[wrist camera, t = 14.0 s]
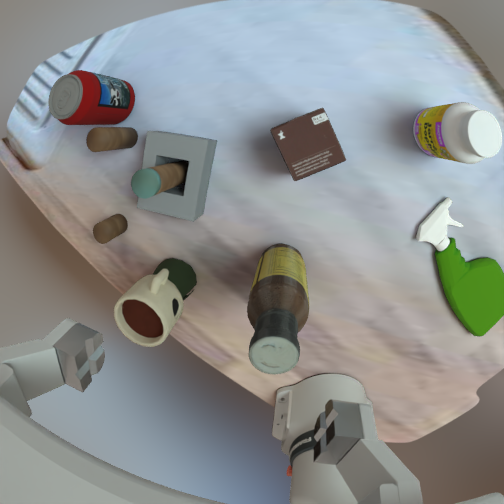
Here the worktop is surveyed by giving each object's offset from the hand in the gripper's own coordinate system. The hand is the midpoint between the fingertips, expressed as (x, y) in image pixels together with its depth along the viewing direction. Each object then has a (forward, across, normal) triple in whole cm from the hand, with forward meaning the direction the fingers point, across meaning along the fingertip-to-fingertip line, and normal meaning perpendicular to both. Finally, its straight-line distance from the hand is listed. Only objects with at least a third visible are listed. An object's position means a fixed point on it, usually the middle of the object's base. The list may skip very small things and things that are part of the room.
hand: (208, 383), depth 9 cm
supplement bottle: (+31, -18, -15) cm, 39 cm away
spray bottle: (+32, -31, +2) cm, 45 cm away
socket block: (+31, +13, -1) cm, 34 cm away
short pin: (+31, +22, +9) cm, 39 cm away
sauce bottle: (+31, -3, +8) cm, 32 cm away
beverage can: (+31, +25, -10) cm, 41 cm away
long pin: (+31, +13, -1) cm, 34 cm away
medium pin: (+31, +22, -4) cm, 38 cm away
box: (+31, -2, -8) cm, 32 cm away
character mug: (+31, +11, +14) cm, 36 cm away
